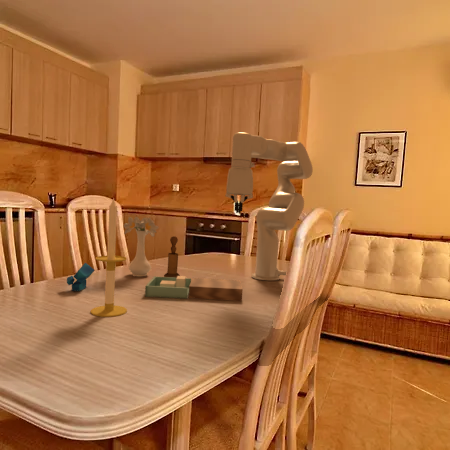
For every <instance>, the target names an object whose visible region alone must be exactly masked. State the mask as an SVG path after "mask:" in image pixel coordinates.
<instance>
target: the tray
mask: <svg viewBox="0 0 450 450" xmlns="http://www.w3.org/2000/svg"><path fill="white" fill-rule="evenodd" d="M162 280H163V281H176V278H174V277H164V276H152V278H151V279H150V280H149V281H148V283H146V285H145V289H144V290H145V291H144V297H149V298H150V297H152V298H167V299H169V298H170V299H188V298H189V286H190V283H191V280H192V278H190V277H186V288H181V287H163V286H160V283H161V281H162Z"/></svg>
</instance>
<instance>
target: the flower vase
mask: <svg viewBox="0 0 450 450" xmlns="http://www.w3.org/2000/svg"><path fill="white" fill-rule="evenodd" d="M127 222H128V223H127ZM127 222H126V223H123V228H124V229H125V231H124V233H123V234H124V235H126V234H127V233H131V231H132V230H133V229H135V232H136V235H137V238H136V239H137V243H136V254H135V255H134V256H135V257H134V258H133V259H132V260H131V262H130V263H129V265H128V271H130V272H131V274H132V276H133V277H139V278H140V277H147V276H148V273H150V271H151V269H152V265H151V263H150V262H149V260H148V259H147V257H146V253H145V245H146V244H145V243H146V242H145V241H146V236H147V235H150V236H151V237H155V233H157V230H159V229H160V227H159V226H158V225H156V224H155V221H154V220H153V219H152V218H151V217H142V218H141V220H140V218H139V217H138V216H135V217H134V218H133V217H131V216H128V219H127Z"/></svg>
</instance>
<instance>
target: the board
mask: <svg viewBox="0 0 450 450" xmlns="http://www.w3.org/2000/svg"><path fill="white" fill-rule="evenodd" d="M243 289H244V288H243V286H242V282H241V279H224V278H223V279H220V278H205V277H204V278H203V277H202V278H201V277H192V278H191V283H190V286H189V294H188V299H201V300H218V301H219V300H220V301H238V302H239V301H240V302H242V301H243Z"/></svg>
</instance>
